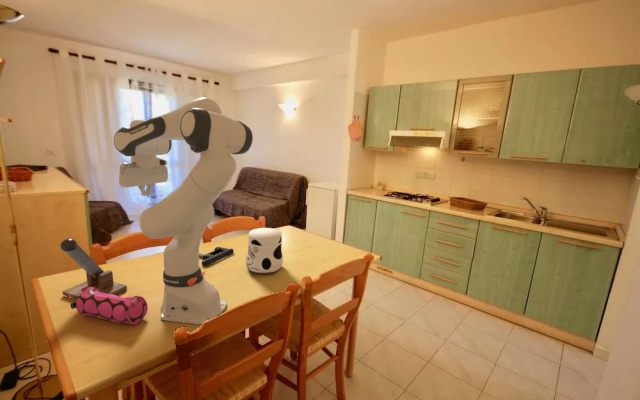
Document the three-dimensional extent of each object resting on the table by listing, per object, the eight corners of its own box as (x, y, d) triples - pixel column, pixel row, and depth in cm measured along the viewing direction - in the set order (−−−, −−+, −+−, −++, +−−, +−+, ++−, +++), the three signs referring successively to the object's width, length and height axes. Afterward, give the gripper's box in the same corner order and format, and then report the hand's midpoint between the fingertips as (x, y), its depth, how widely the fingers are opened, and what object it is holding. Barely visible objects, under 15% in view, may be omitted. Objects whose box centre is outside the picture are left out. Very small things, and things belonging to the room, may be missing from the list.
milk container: (237, 270, 134) (238, 233, 130) (261, 258, 149) (262, 225, 145) (267, 280, 126) (268, 242, 123) (289, 266, 141) (291, 231, 138)
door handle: (182, 256, 141) (207, 261, 134) (213, 244, 159) (236, 248, 152) (183, 262, 141) (207, 268, 135) (213, 249, 159) (236, 254, 153)
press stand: (126, 289, 112) (125, 271, 110) (95, 306, 101) (92, 285, 99) (96, 281, 117) (94, 263, 115) (63, 296, 105) (60, 276, 104)
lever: (111, 274, 111) (75, 237, 97) (101, 284, 108) (63, 246, 94) (102, 272, 112) (65, 235, 98) (93, 282, 109) (53, 244, 95)
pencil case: (71, 322, 92) (67, 293, 90) (98, 305, 102) (95, 279, 100) (130, 332, 89) (127, 303, 87) (152, 314, 99) (151, 288, 97)
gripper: (126, 163, 105) (128, 200, 108) (170, 161, 124) (171, 192, 127) (113, 162, 107) (116, 198, 110) (158, 159, 126) (160, 190, 129)
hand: (146, 195), depth 119 cm, fingers closed
